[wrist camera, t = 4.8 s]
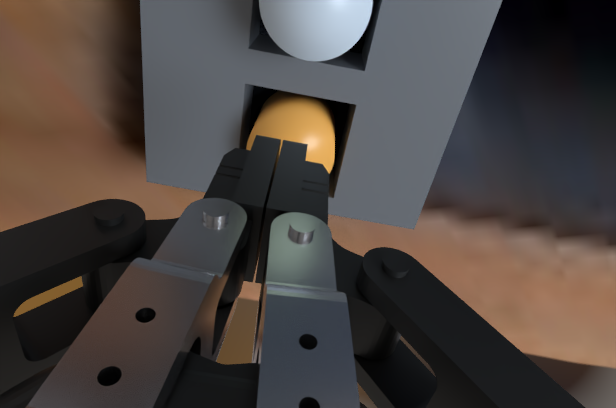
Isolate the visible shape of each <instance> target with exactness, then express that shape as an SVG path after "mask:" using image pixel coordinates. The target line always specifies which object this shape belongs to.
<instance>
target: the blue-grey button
mask: <svg viewBox="0 0 616 408" xmlns="http://www.w3.org/2000/svg"><path fill="white" fill-rule="evenodd" d="M372 5H373V0H259V8H260V13H261V18H262V21H263V24H264V26H265V28H266V30H267V32H268V34H269V35H270V37H271V38H272V39H273V41H274V42H275V43H276V44H277V45H278V46H279V47H280V48H281V49H282V50H284V51H285V52H286V53H288V54H290V55H292V56H294V57H296V58H299V59H302V60H306V61H325V60H329V59H333V58H335V57H338V56H340V55H342V54H343V53H345V52H347V51H348V50H349V49H350V48H352V47H353V46H354V45H355V44H356V43H357V41H358V40H359V39H360V38H361V36H362V35H363V33H364V31H365V29H366V27H367V25H368V23H369V20H370V16H371V12H372Z"/></svg>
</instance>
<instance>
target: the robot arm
mask: <svg viewBox="0 0 616 408" xmlns="http://www.w3.org/2000/svg"><path fill="white" fill-rule="evenodd" d="M307 145H308V144H304V143H298V142H293V141H288V140H283V143H282V147H281V151H280V146H281V139H276V138H271V137H266V136H260V135H256V137H255V139H254V142H253V145H252V147H251V150H244V149H239V148H234V149H233V150H231V151H230V152H228V153H226V154H225V155H224V156H223V158H222V160H221V162H220V164H219V166H218V169H217V171H216V173H215V175H214V177H213V179H212V181H211V183H210V185H209V187H208V189H207V191H206V193H205V195H204V198H203V199H200V200H197V201H195V202H193V203H191V204H190V205H189V206H188V207H187V208H186V209H185V210H184V212H183V213H182V215H181V216H180V217H179V218H175V219H166V220H145V213H144V211H143V210H142V208H141V207H139V206H138V205H137V204H135V203H132V202H130V201H126V200H120V199H106V200H99V201H95V202H92V203H89V204H86V205H83V206H80V207H77V208H74V209H70V210H67V211H64V212H61V213H58V214H55V215H52V216H49V217H46V218H43V219H40V220H37V221H34V222H31V223H27V224H24V225H21V226H18V227H15V228H12V229H9V230H6V231H3V232H0V408H367V407H366V406H365V405H364V404H362V403H361V402H359V394H358V386H357V382H358V383H359V385H360V386H361V387H362V388H363V389H364V391H365V392H366V393H367V395H368V396H369V397H370V399H371V400H372V401H373V402H374V404H375V405H376V406H377V407H378V408H585V407H584V406H583V405H582V404H580V403H579V402H578V401H577V400H576V399H575V398H574V397H572V396H571V395H570V394H569V393H568V392H567V391H565V390H564V389H563V388H562V387H561V386H560V385H559V384H557V383H556V382H555V381H554V380H553V379H552V378H551V377H549V376H548V375H547V374H546V373H545V372H544V371H543V370H541V369H540V368H539V367H538V366H537V365H536V364H535V363H533V362H532V361H531V360H530V359H529V358H528V357H526V356H525V355H524V354H523V353H522V352H521V351H520V350H519V349H517V348H516V347H515V346H514V345H513V344H512V343H511V342H509V341H508V340H507V339H506V338H505V337H504V336H503V335H501V334H500V333H499V332H498V331H497V330H496V329H495V328H493V327H492V326H491V325H490V324H489V323H488V322H487V321H485V320H484V319H483V318H482V317H481V316H480V315H479V314H477V313H476V312H475V311H474V310H473V309H472V308H471V307H469V306H468V305H467V304H466V303H465V302H464V301H463V300H461V299H460V298H459V297H458V296H457V295H456V294H454V293H453V292H452V291H451V290H450V289H449V288H448V287H446V286H445V285H444V284H443V283H442V282H441V281H440V280H438V279H437V278H436V277H435V276H434V275H433V274H432V273H430V272H429V271H428V270H427V269H426V268H425V267H424V266H422V265H421V264H420V263H419V262H418V261H417V260H416V259H414V258H413V257H412V256H410V255H408V254H407V253H405V252H402V251H400V250H397V249H393V248H387V247H380V248H375V249H372V250H370V251H368V252H367V253H366V254H365V255H364V257H362V256H360V255H357V254H355V253H352V252H350V251H348V250H346V249H344V248H343V247H341V246H340V245H338V244H337V243H336V242H335V241H334V240H333V239H332V235H331V231H330V229H329V227H328V197H329V195H328V194H329V173H328V171H327V170H326V168H325V167H324V165H323V164H320V163H315V162H310V161H305V160H306V153H307ZM279 152H280V155H279ZM259 253H260V254H259ZM258 257H259V260H258ZM257 261H258V267H257V274H256V281H255V283H261V284H262V285H261V291H260V298H259V304H258V310H257V319H256V329H255V339H254V348H253V358H252V363H247V364H232V365H224V364H220V363H217V362H216V360H217V357H218V354H219V352H220V349H221V346H222V343H223V341H224V338H225V335H226V333H227V330H228V327H229V324H230V322H231V319H232V316H233V314H234V311H235V308H236V304H237V298H238V295H239V294H240V292H241V288H242V284H243V281H248V282H253V278H254V274H255V270H256V265H257ZM79 276H82V282H83V287H81V288H78V289H76V290H74V291H72V292H70V293H67V294H65V295H63V296H61V297H59V298H56V299H54V300H52V301H50V302H48V303H45V304H43V305H41V306H39V307H37V308H34V309H32V310H30V311H28V312H26V313H23V314H21V315H19V316H16V317H13V316H14V313H15V311H16V309H17V308H18V307H19V306H20V305H21V304H22V303H23V302H25V301H26V300H28V299H29V298H31V297H34V296H36V295H38V294H40V293H43V292H45V291H47V290H50V289H52V288H54V287H56V286H59V285H61V284H63V283H66V282H68V281H70V280H73V279H75V278H77V277H79ZM401 336H402V337H403V338H404V339H405V340H406V341H407V342H408V343H409V344H410V345H411V346H412V347H413V348H414V349H415V350H416V351H417V352H418V354H419V355H420V356H421V357H422V358H423V359H424V360H425V361H426V362H427V363H428V364H429V365H430V367H431V368H432V370H433V371H434V373H435V375H436V377H435V376H434V375H433V374H432V373H431V372H430V371H429V370H428V369H427V368H426V366H424V364H423V363H422V362H421V361H420V360H419V359H418V358H417V357H416V356H415V355H414V354H413V353H412V352H411V351H410V349H408V347H407V346H406V345H405V344H404V343H403V342H402V341H401V340H400V337H401Z"/></svg>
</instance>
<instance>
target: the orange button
mask: <svg viewBox="0 0 616 408" xmlns="http://www.w3.org/2000/svg"><path fill="white" fill-rule="evenodd" d="M256 135H260V136H266V137H271V138H276V139H281V146H280V151H281V147H282V143H283V140H288V141H293V142H298V143H304V144H308V145H307V153H306V160H305V161H310V162H315V163H320V164H323V165H324V167H325V168H326V170H327V171H328V173H329V174H330V172H331V170H332V167H333V164H334V159H335V118H334V114H333V112H332V109H331V108H330V106H329V104H328V103H327V102H326V100H324V99H323V98H318V97H313V96H308V95H302V94H297V93H292V92H287V91H281V90H280V91H277V92H276V93H274V94H273V95H271V96H270V97H269V98H268V99H267V100H266V101H265V103H264V104H263V106H262V108H261V110H260V113H259V115H258V117H257V120H256V122H255V124H254V127H253V129H252V131H251V134H250V136H249V139H248V142H247V148H246V150H251V147H252V145H253V142H254V139H255V137H256ZM279 155H280V152H279Z"/></svg>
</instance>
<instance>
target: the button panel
mask: <svg viewBox="0 0 616 408" xmlns="http://www.w3.org/2000/svg"><path fill="white" fill-rule="evenodd" d="M501 2H502V0H374V3H373V8H372V12H371V16H370V20H369V24H368V29H367V33H366V37H365V41H364V46H363V50H362V54H360V53H354V52H349V51H347V52H345V53H343V54H342V55H340V56H338V57H335V58H333V59H329V60H325V61H306V60H302V59H299V58H296V57H294V56H292V55H290V54H288V53H286V52H285V51H284V50H282V49H281V48H280V47H279V46H278V45H277V44H276V43H275V42H274V41H273V39H272V38H271V37H270V36H268V35H262V34H259V32H260V23H261V13H260V8H259V0H140V15H141V41H142V68H143V95H144V122H145V149H146V175H147V182H151V183H157V184H162V185H168V186H174V187H179V188H185V189H190V190H196V191H202V192H206V191H207V189H208V187H209V185H210V183H211V181H212V179H213V177H214V175H215V173H216V171H217V169H218V166H219V164H220V162H221V160H222V158H223V156H224V155H225V154H226V153H228V152H230V151H231V150H233V149H234V148H239V149H244V150H246V148H247V142H248V136H249V126H250V117H251V108H252V98H253V89H254V85H255V86H260V87H266V88H271V89H276V90H281V91H287V92H292V93H297V94H302V95H308V96H313V97H318V98H323V99H329V100H334V101H339V102H344V103H350V105H349V109H348V113H347V118H346V122H345V126H344V130H343V135H342V139H341V143H340V147H339V152H338V156H337V160H336V164H335V169H334V170H331V172H330V174H329V194H328V195H329V197H328V214H331V215H336V216H342V217H347V218H353V219H359V220H364V221H370V222H375V223H381V224H387V225H392V226H398V227H403V228H409V229H414V228H415V225H416V223H417V220H418V218H419V215H420V212H421V210H422V207H423V205H424V202H425V199H426V197H427V194H428V192H429V189H430V186H431V184H432V181H433V179H434V176H435V173H436V171H437V168H438V166H439V163H440V161H441V158H442V155H443V153H444V150H445V148H446V145H447V142H448V140H449V137H450V135H451V132H452V129H453V127H454V124H455V122H456V119H457V116H458V114H459V111H460V109H461V106H462V103H463V101H464V98H465V96H466V93H467V90H468V88H469V85H470V83H471V80H472V78H473V75H474V72H475V70H476V67H477V65H478V62H479V59H480V57H481V54H482V52H483V49H484V46H485V44H486V41H487V39H488V36H489V33H490V31H491V28H492V26H493V23H494V20H495V18H496V15H497V13H498V10H499V7H500V5H501Z"/></svg>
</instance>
